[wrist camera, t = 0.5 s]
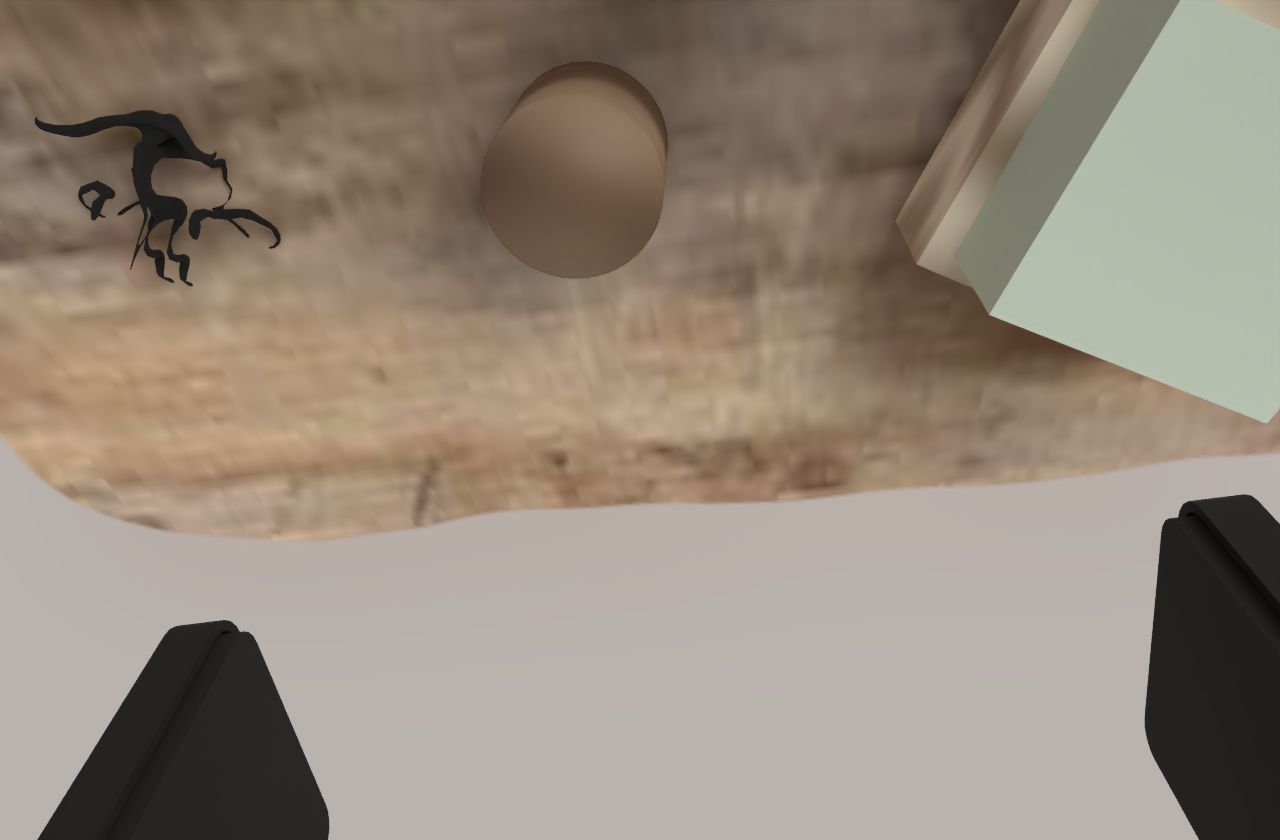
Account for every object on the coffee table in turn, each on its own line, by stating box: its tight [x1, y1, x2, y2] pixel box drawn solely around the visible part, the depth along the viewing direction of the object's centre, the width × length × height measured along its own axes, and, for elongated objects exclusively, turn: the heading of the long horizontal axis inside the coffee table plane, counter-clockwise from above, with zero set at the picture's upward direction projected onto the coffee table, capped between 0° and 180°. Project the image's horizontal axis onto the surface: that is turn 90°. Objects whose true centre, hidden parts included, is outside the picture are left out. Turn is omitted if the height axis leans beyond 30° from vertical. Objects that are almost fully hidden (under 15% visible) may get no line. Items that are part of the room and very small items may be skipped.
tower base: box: [895, 0, 1280, 289], centre depth 37 cm, size 12×12×5 cm
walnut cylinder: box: [481, 62, 668, 278], centre depth 37 cm, size 6×6×6 cm
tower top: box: [955, 0, 1280, 424], centre depth 33 cm, size 10×10×5 cm
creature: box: [35, 111, 281, 286], centre depth 40 cm, size 8×5×8 cm
